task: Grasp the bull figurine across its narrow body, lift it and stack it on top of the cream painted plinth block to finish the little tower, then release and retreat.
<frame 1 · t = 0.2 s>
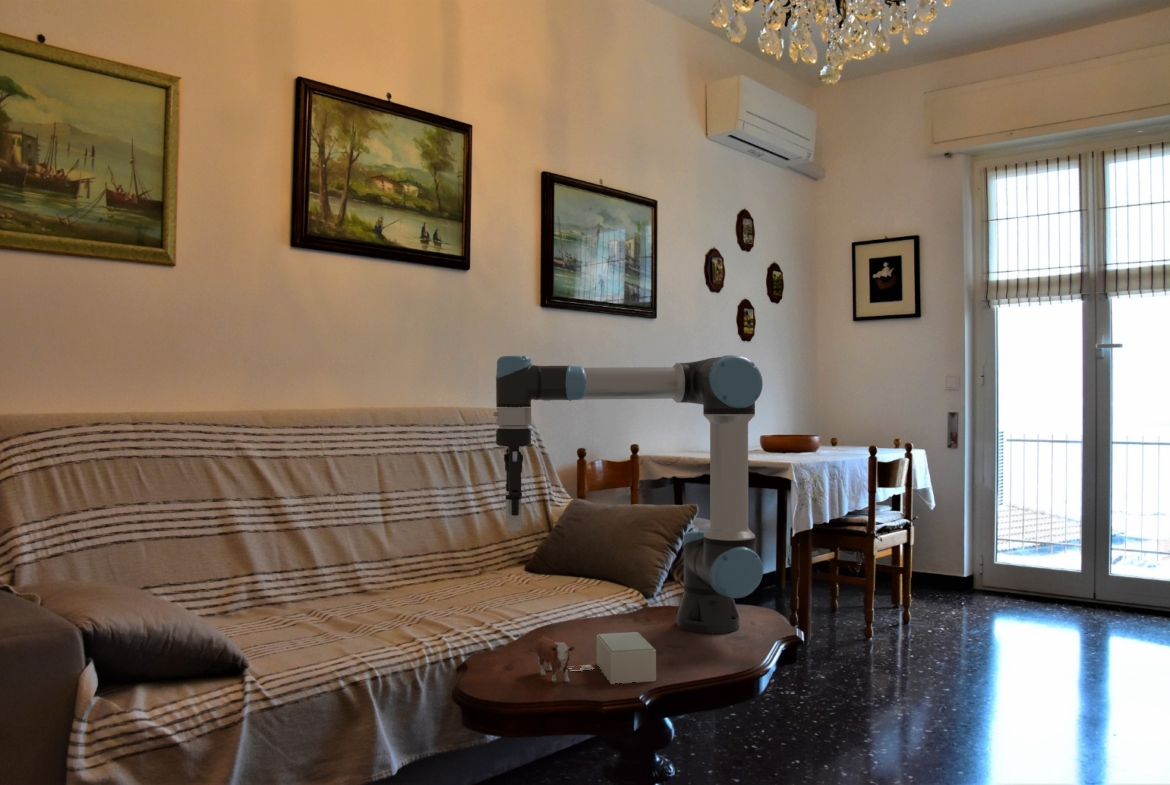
hand: (513, 526, 188), 28 cm above the table, fingers open, 13 cm apart
bull figurine: (555, 680, 172), on the table
instruction page: (581, 669, 178), on the table
plinth: (625, 672, 176), on the table
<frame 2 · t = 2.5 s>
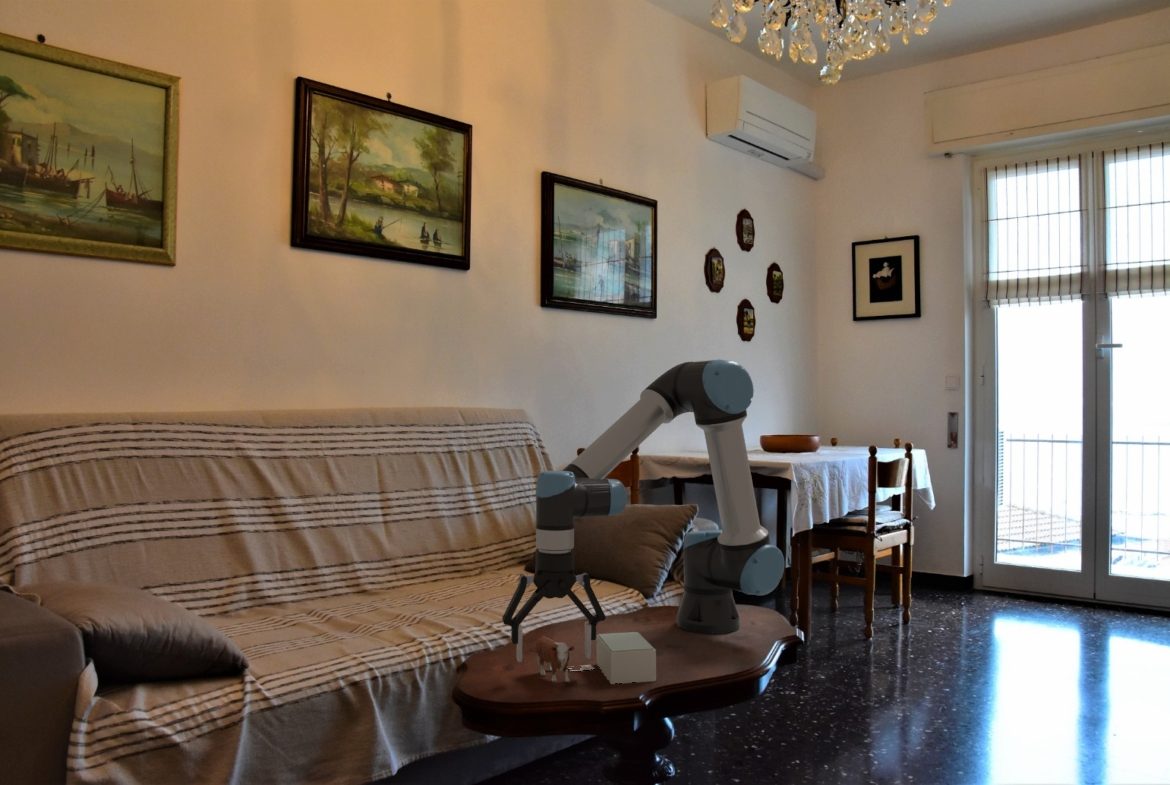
hand: (553, 658, 172), 4 cm above the table, fingers open, 13 cm apart
nothing on the table moved.
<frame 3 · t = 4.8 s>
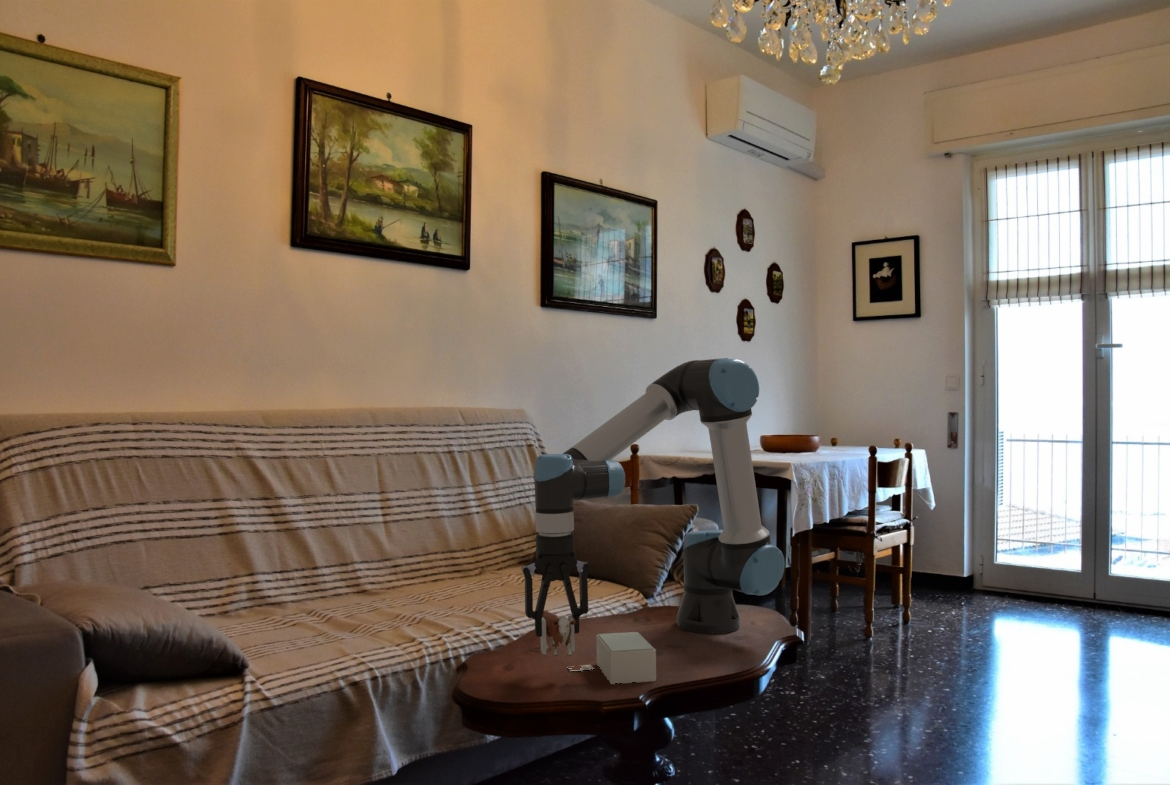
hand: (557, 650, 172), 5 cm above the table, fingers closed on bull figurine, 5 cm apart
bull figurine: (557, 654, 172), point 5 cm above the table, touching gripper
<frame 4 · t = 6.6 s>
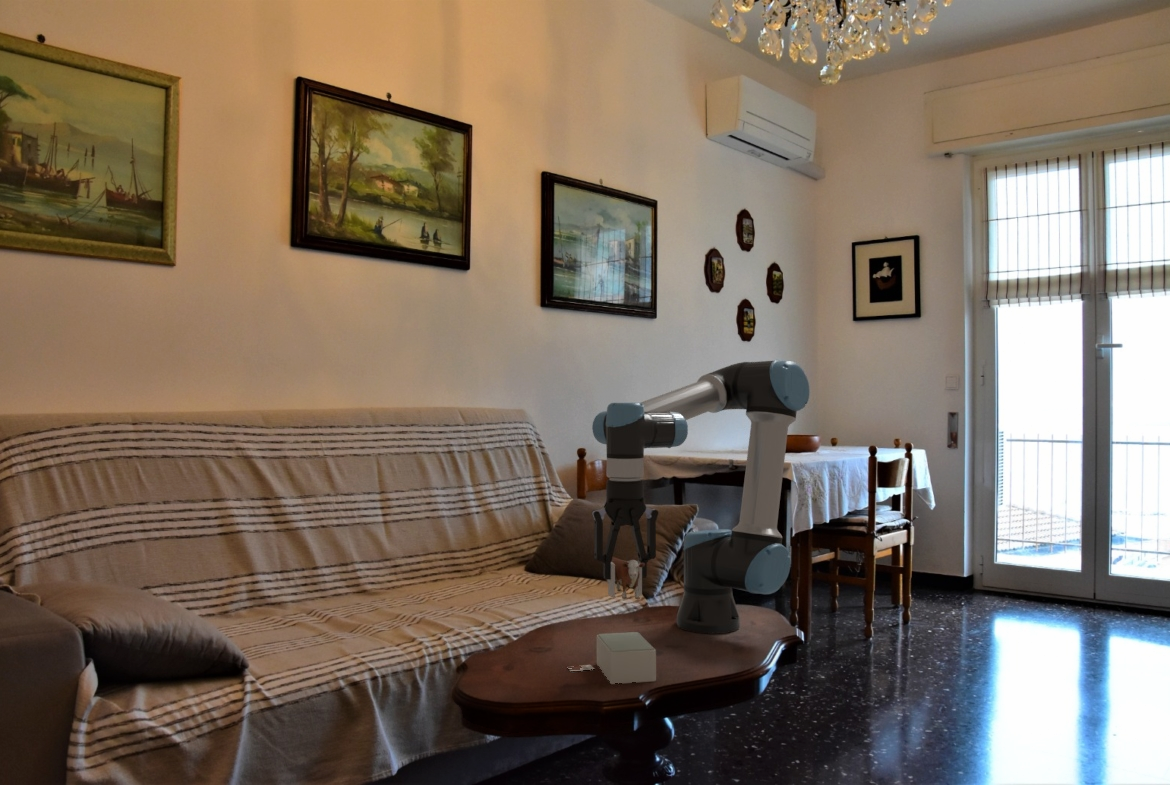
hand: (625, 594, 176), 16 cm above the table, fingers closed on bull figurine, 5 cm apart
bull figurine: (624, 597, 176), point 15 cm above the table, touching gripper
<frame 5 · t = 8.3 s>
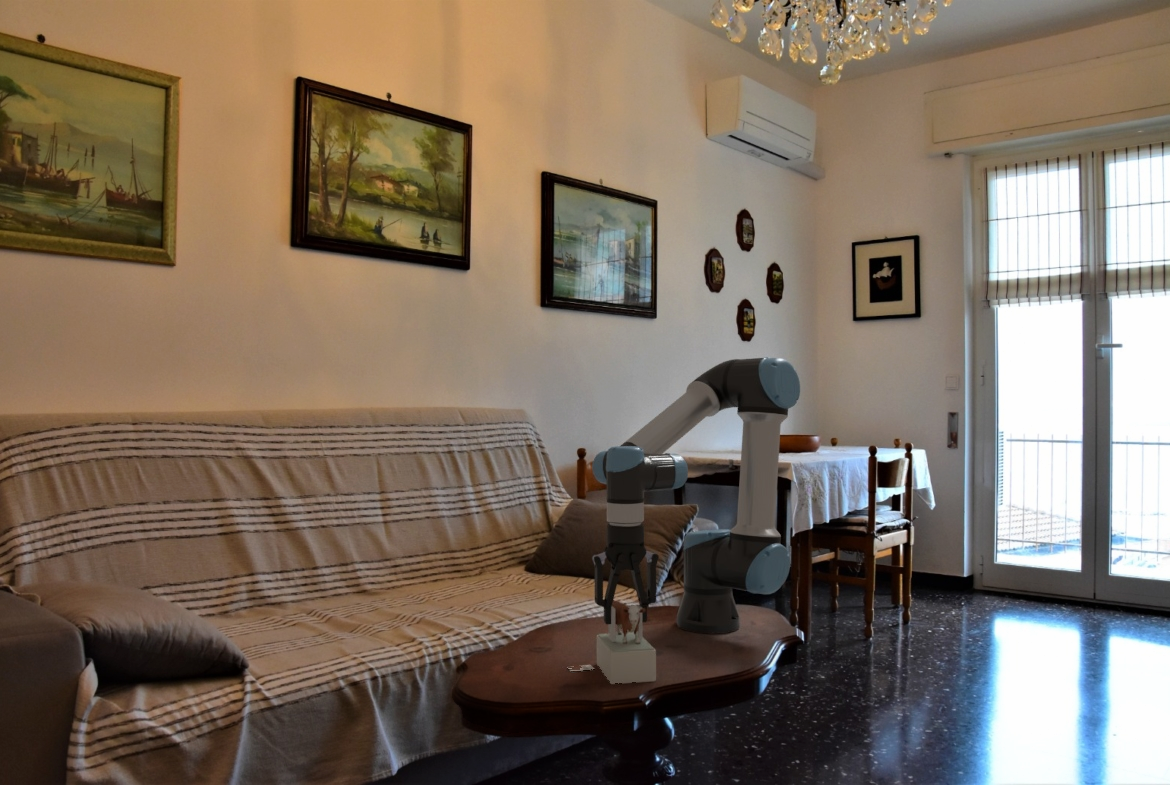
hand: (625, 638, 176), 7 cm above the table, fingers closed on bull figurine, 5 cm apart
bull figurine: (625, 641, 176), point 6 cm above the table, touching gripper, plinth
when the fingers open (7 cm above the table, at t = 8.7 s): bull figurine stays where it is, resting on plinth.
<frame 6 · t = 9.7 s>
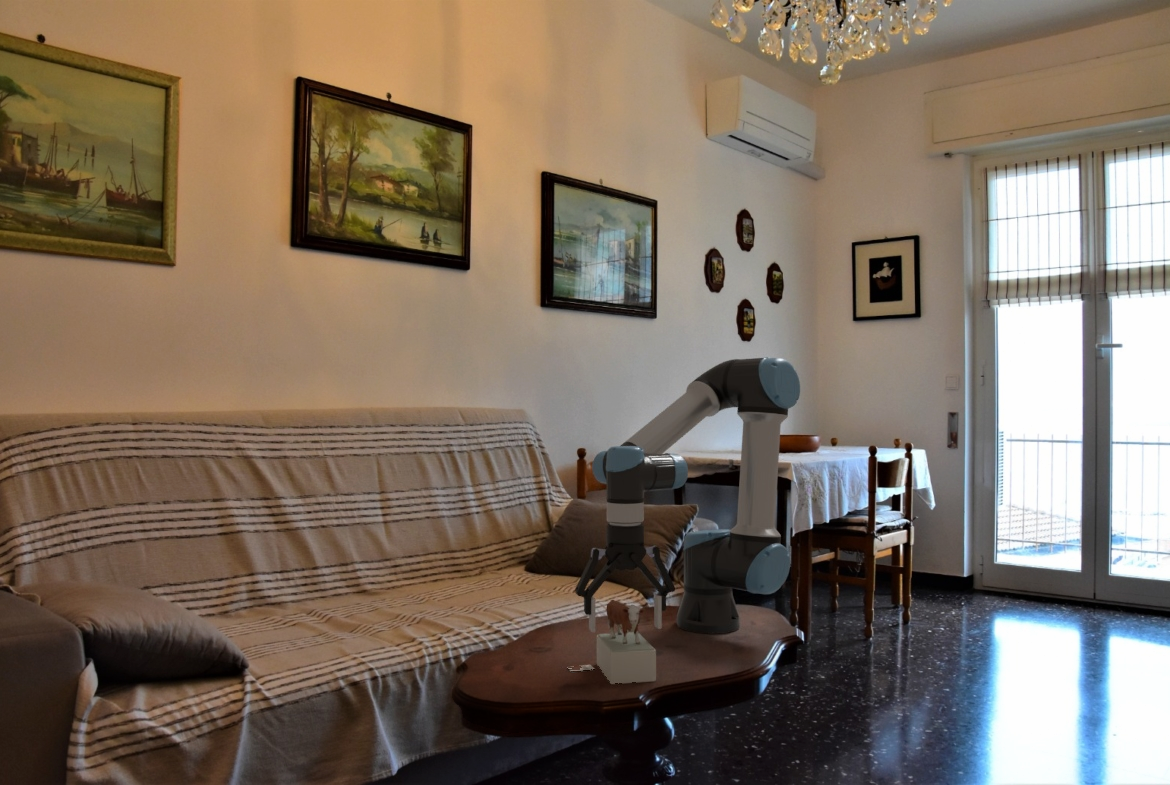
hand: (625, 629, 176), 9 cm above the table, fingers open, 13 cm apart
bull figurine: (625, 641, 176), point 6 cm above the table, touching plinth
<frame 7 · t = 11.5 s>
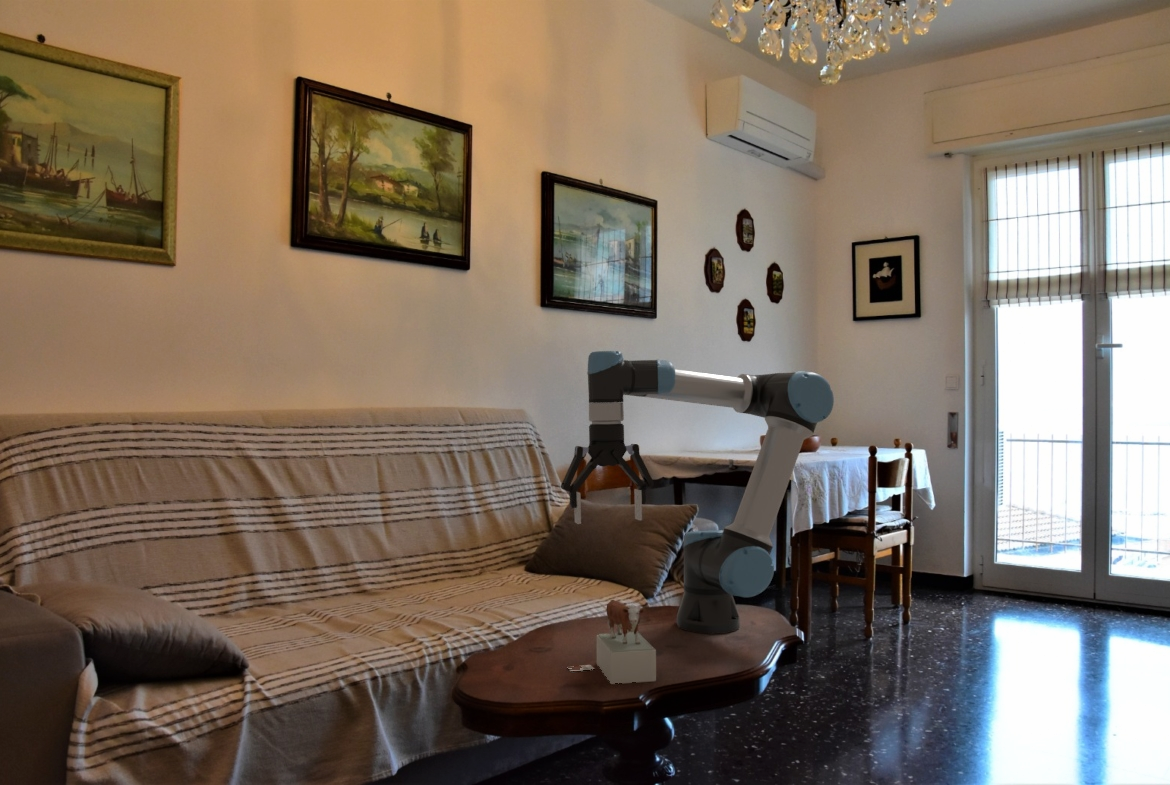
hand: (608, 521, 188), 29 cm above the table, fingers open, 13 cm apart
nothing on the table moved.
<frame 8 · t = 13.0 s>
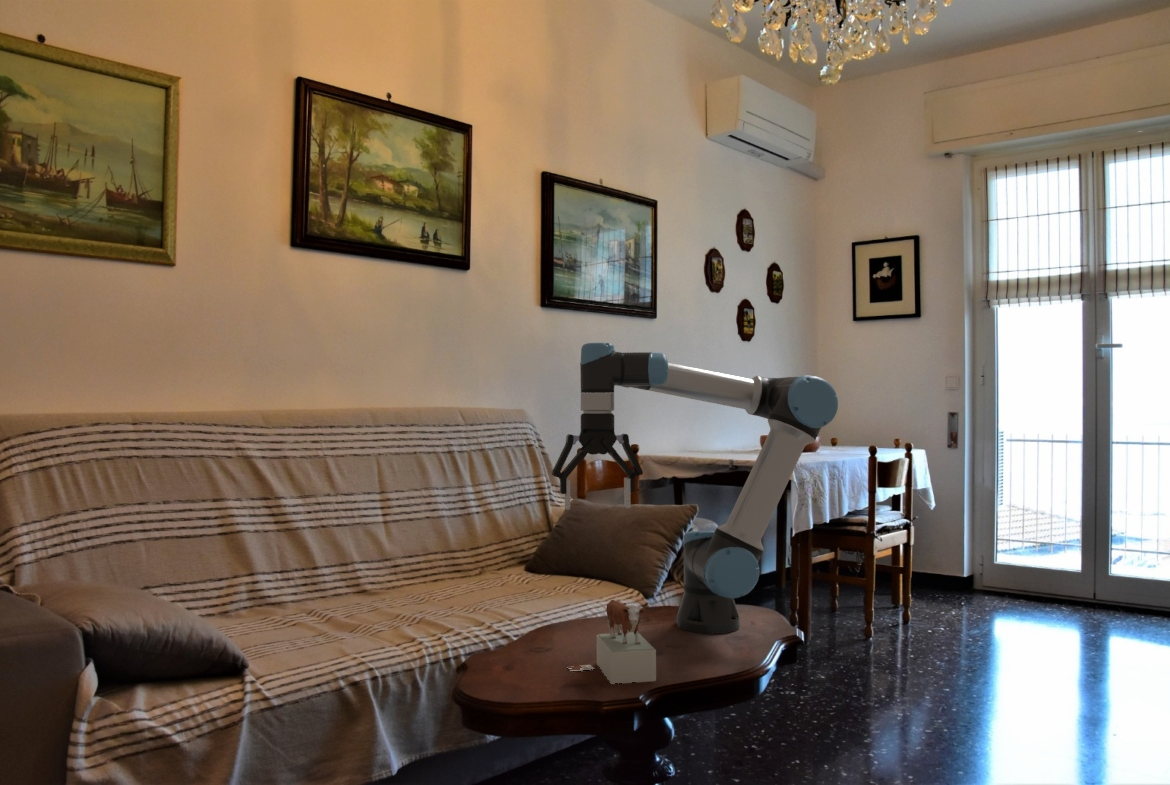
hand: (597, 508, 194), 31 cm above the table, fingers open, 13 cm apart
nothing on the table moved.
at the end: bull figurine inside the target area on the plinth (0.1 cm from its centre), point 6.1 cm above the plinth's base; the gripper is holding nothing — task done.
